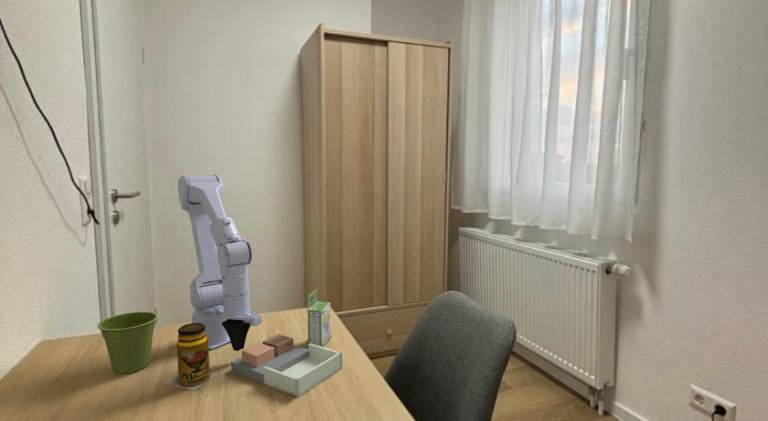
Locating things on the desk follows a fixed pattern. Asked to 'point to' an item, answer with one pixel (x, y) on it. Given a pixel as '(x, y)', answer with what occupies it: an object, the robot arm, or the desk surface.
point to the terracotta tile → (258, 354)
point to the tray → (305, 371)
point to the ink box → (318, 321)
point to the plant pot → (129, 340)
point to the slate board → (270, 363)
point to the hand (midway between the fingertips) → (238, 349)
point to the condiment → (192, 358)
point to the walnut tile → (280, 344)
